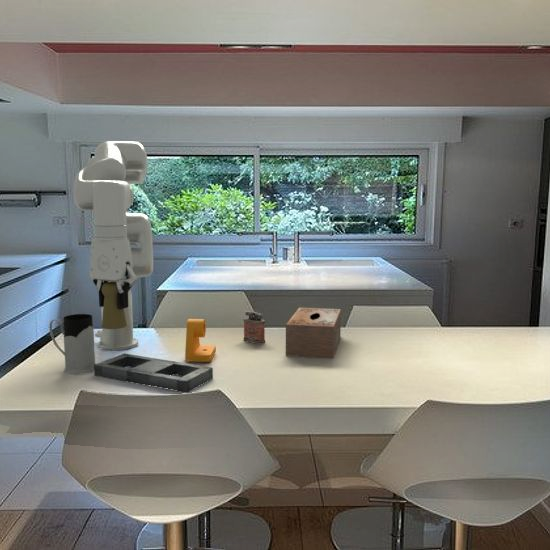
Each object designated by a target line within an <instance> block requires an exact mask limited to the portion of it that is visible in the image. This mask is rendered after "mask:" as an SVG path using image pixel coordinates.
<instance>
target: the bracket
mask: <svg viewBox="0 0 550 550" xmlns="http://www.w3.org/2000/svg"><path fill="white" fill-rule="evenodd" d="M186 321H187V322H186V330H185V331H186V334H185V336H186V337H185V349H184V350H185V351H184V353H185V354H184V358H185V359H184V361H185V362H203V363H205V362H206V363H207V362H211V361H213V360H214V359H215V357H216V356H215V355H216V353H217V349H216V348H217V347H216V345H215V344H214V345H213V344H211V345H210V344H200V343H201V342H200V338H205V336H206V331H207V323H206V319H205V318H188V319H187V320H186ZM214 356H215V357H214ZM213 358H214V359H213Z"/></svg>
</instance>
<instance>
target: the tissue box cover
mask: <svg viewBox="0 0 550 550" xmlns="http://www.w3.org/2000/svg"><path fill="white" fill-rule="evenodd" d="M341 310H342V309H341V308H325V307H324V308H323V307H321V308H320V307H298V308H297V309H296V311H295V312H294V313H293V315H292V316H291V317H290V319H289V320H288V321H287V322H286V324H285V356H286V355H287V356H286V357H298V358H299V357H301V358H303V357H304V358H316V359H317V358H318V359H319V358H320V359H321V358H322V359H334V358H335V354H336V352H337V349H338V346H339V343H340V340H341V329H342V328H341V320H342V311H341Z"/></svg>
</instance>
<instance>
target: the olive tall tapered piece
mask: <svg viewBox="0 0 550 550" xmlns="http://www.w3.org/2000/svg"><path fill="white" fill-rule="evenodd" d="M122 285H123V284H122ZM102 293H103V295H104V307H103V318H102V317H101V329H102V328H104V329H120V328H124V327H126V326H127V322H126V316H125V310H124V309H118V308H117V293H119V291H118V287H117V283H116V282H107V283H104V284H103V286H102Z"/></svg>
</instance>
